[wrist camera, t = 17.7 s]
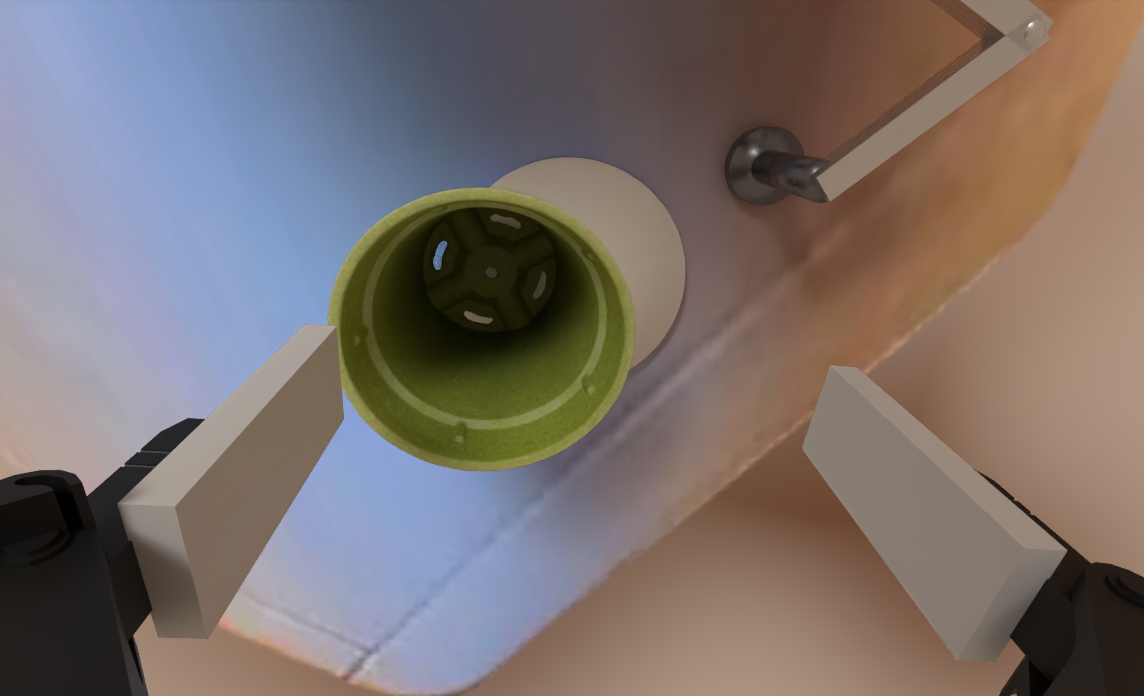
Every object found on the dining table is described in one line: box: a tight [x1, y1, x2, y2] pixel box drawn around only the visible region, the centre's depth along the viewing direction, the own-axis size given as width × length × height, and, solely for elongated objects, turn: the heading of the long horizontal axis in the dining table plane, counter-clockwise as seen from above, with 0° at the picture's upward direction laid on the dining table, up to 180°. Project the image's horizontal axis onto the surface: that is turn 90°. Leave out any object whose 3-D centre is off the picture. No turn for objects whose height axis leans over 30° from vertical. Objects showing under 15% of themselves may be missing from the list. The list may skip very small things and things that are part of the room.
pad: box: [464, 157, 685, 369], centre depth 25 cm, size 11×11×1 cm
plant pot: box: [328, 187, 635, 471], centre depth 21 cm, size 9×9×9 cm
